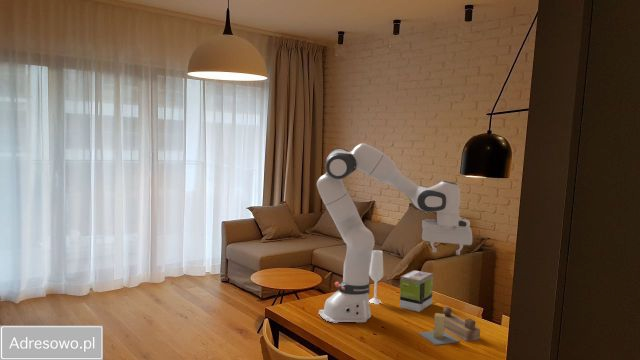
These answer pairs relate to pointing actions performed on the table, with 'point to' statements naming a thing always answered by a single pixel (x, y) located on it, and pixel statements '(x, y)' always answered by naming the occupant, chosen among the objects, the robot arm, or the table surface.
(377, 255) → the champagne flute
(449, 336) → the rubber mat
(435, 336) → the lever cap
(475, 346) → the table surface
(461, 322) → the plane body
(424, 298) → the tea box
